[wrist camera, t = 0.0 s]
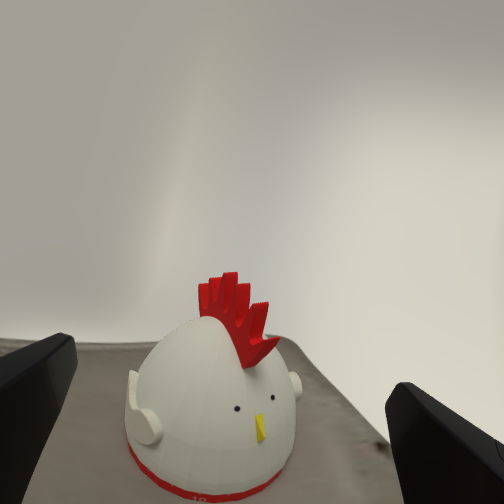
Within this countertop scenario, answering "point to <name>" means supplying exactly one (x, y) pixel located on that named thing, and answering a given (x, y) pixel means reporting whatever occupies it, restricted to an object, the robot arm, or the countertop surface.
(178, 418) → the kitchen timer
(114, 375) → the countertop surface
